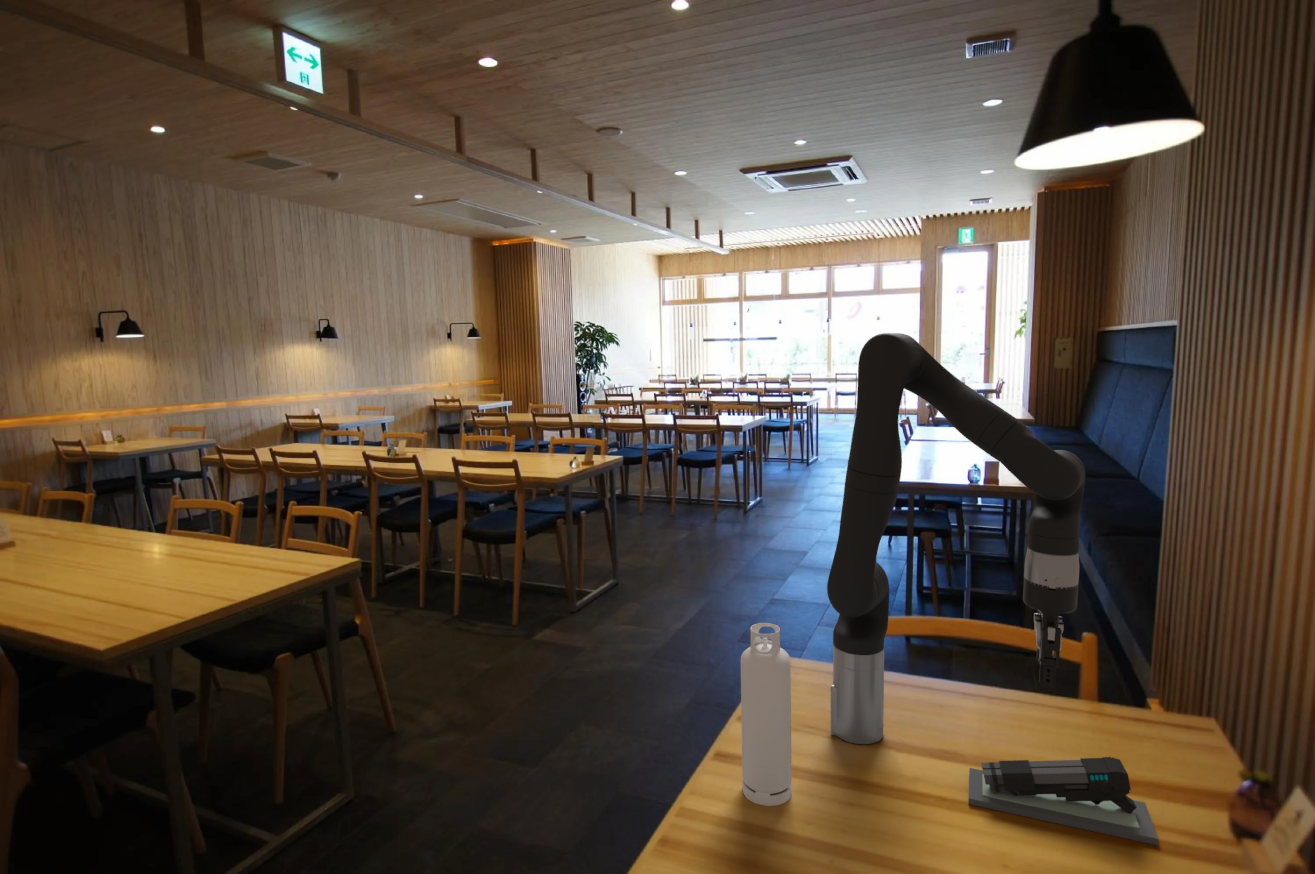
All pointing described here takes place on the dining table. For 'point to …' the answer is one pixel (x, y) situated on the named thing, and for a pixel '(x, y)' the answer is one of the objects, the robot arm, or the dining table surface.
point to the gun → (1063, 779)
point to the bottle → (766, 718)
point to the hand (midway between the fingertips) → (1045, 674)
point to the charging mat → (1066, 811)
